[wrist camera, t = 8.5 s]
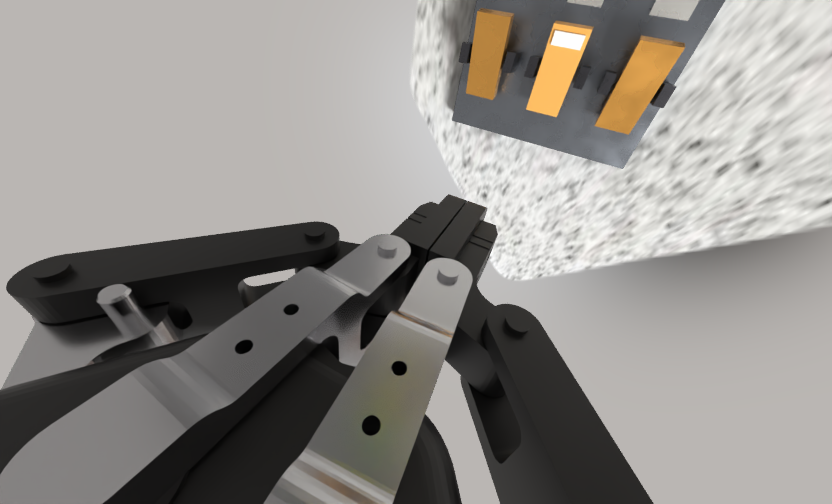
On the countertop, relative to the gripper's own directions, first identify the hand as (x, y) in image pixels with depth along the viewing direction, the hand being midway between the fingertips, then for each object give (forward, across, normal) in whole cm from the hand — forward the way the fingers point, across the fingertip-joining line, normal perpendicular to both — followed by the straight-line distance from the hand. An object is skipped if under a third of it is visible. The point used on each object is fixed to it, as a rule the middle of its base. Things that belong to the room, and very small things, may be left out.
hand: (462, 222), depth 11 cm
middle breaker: (+24, 0, -3) cm, 24 cm away
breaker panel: (+29, 0, -3) cm, 29 cm away
